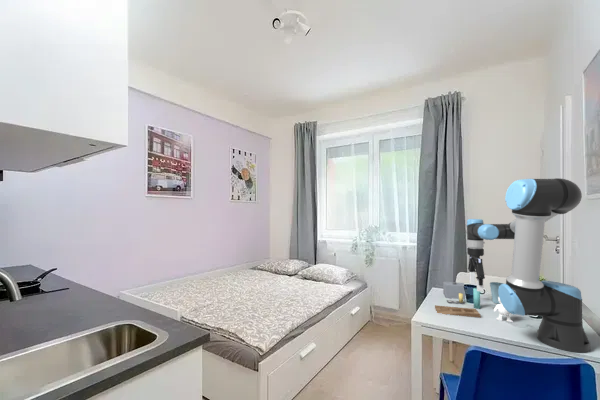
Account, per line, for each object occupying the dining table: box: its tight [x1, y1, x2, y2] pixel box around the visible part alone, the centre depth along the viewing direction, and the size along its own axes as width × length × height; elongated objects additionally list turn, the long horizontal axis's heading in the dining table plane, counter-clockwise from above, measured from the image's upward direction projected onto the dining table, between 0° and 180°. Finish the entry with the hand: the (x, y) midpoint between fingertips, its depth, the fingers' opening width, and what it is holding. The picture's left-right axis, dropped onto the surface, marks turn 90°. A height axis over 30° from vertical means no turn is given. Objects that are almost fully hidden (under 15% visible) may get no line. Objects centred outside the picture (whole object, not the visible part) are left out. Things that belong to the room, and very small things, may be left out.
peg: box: [472, 287, 481, 310], centre depth 149 cm, size 3×3×10 cm
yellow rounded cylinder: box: [446, 293, 466, 305], centre depth 157 cm, size 4×8×5 cm, turn 73°
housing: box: [442, 281, 466, 300], centre depth 168 cm, size 8×11×8 cm
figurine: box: [493, 297, 515, 323], centre depth 132 cm, size 8×5×12 cm, turn 60°
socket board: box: [434, 305, 481, 319], centre depth 142 cm, size 8×19×2 cm, turn 72°
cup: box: [489, 281, 505, 305], centre depth 157 cm, size 8×8×10 cm
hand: (476, 287), depth 150 cm, fingers open, 13 cm apart
